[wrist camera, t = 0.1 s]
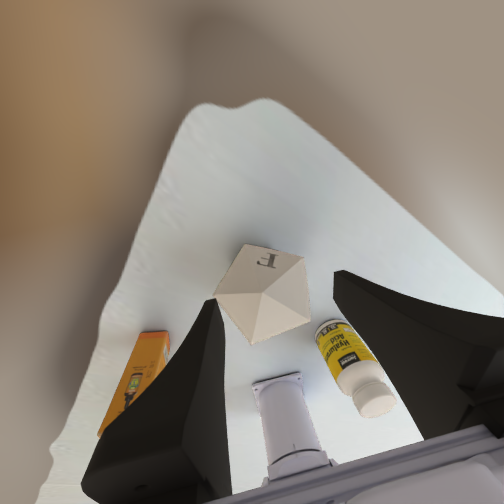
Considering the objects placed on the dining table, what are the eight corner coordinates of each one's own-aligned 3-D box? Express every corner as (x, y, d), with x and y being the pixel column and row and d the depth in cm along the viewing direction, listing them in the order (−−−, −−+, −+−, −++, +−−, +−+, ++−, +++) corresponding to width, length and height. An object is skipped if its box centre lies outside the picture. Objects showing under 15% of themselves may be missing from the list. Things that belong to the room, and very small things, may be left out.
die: (309, 261, 24) (334, 245, 14) (293, 337, 23) (309, 376, 13) (241, 246, 25) (222, 221, 15) (223, 317, 24) (189, 339, 14)
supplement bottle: (331, 312, 27) (383, 385, 19) (356, 325, 29) (414, 397, 20) (305, 338, 29) (343, 417, 20) (331, 349, 31) (375, 426, 22)
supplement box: (144, 351, 25) (103, 456, 16) (140, 331, 24) (93, 434, 15) (171, 349, 26) (146, 450, 17) (169, 329, 25) (140, 428, 16)
